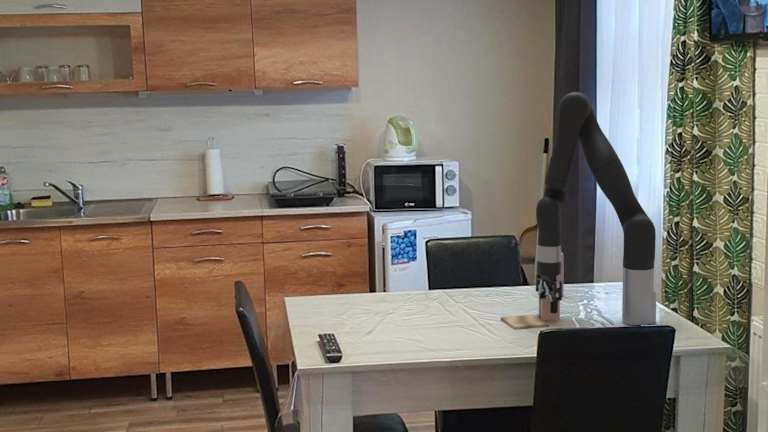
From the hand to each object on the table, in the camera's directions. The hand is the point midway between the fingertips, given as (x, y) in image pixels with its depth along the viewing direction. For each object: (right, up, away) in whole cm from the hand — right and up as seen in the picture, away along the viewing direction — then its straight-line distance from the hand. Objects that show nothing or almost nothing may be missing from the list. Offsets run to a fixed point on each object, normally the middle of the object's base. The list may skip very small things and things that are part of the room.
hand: (548, 309), depth 298 cm
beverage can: (+8, +2, +31) cm, 32 cm away
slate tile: (0, -3, +1) cm, 3 cm away
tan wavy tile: (-8, -4, -4) cm, 10 cm away
